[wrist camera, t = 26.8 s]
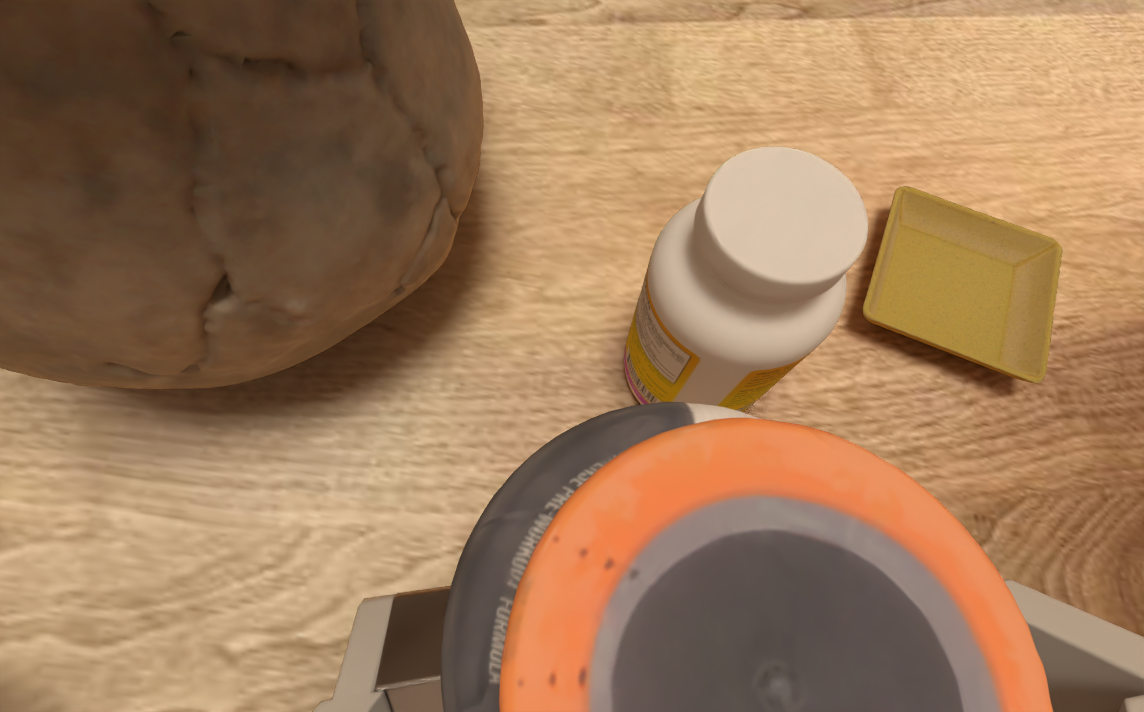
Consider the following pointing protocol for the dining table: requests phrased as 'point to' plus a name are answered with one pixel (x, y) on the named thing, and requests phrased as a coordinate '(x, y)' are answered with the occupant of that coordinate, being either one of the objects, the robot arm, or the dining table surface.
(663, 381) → the supplement bottle
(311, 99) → the pot
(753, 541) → the pill bottle
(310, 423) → the dining table surface
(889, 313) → the yellow square tray
